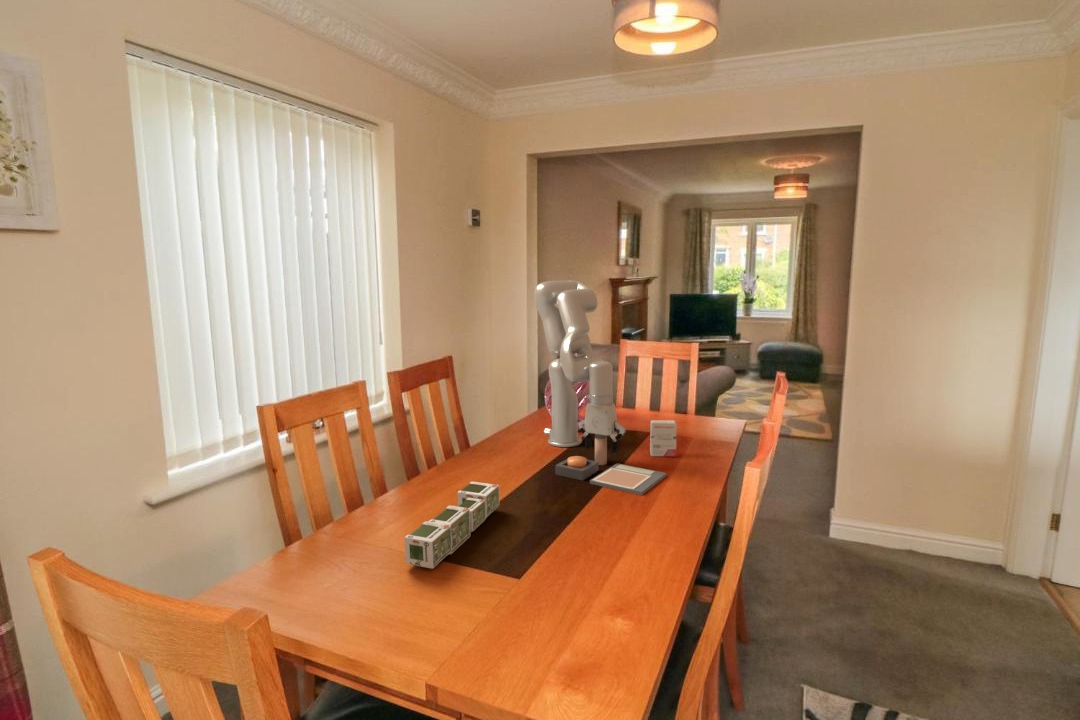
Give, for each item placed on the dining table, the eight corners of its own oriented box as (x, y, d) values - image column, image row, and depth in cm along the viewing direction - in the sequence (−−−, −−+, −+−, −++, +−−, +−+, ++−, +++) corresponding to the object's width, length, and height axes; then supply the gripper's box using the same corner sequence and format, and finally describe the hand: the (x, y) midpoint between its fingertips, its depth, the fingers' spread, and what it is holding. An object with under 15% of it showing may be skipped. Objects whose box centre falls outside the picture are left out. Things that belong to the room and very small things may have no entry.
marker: (592, 463, 196) (592, 428, 194) (598, 460, 200) (598, 425, 198) (603, 465, 194) (603, 430, 192) (609, 462, 197) (609, 427, 195)
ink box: (674, 452, 207) (675, 419, 205) (676, 457, 202) (677, 423, 200) (649, 452, 207) (650, 419, 205) (650, 456, 203) (651, 423, 201)
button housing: (555, 474, 187) (555, 465, 186) (571, 465, 195) (571, 456, 195) (582, 480, 181) (582, 471, 181) (598, 470, 190) (598, 461, 189)
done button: (563, 467, 187) (563, 460, 187) (573, 462, 192) (573, 454, 192) (580, 471, 184) (580, 463, 183) (589, 465, 189) (589, 458, 188)
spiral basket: (637, 378, 237) (583, 338, 244) (607, 409, 216) (549, 364, 222) (606, 423, 254) (556, 385, 260) (575, 456, 233) (522, 413, 239)
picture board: (589, 483, 179) (589, 479, 179) (616, 466, 194) (616, 462, 193) (641, 495, 169) (641, 491, 169) (666, 476, 184) (666, 472, 184)
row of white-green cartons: (472, 506, 164) (471, 480, 162) (500, 510, 161) (499, 484, 159) (399, 567, 131) (398, 536, 130) (432, 574, 128) (431, 542, 127)
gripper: (572, 398, 195) (573, 449, 197) (619, 404, 185) (619, 457, 188) (583, 394, 201) (584, 443, 204) (630, 399, 191) (630, 451, 194)
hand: (601, 450), depth 196 cm, fingers open, 9 cm apart
